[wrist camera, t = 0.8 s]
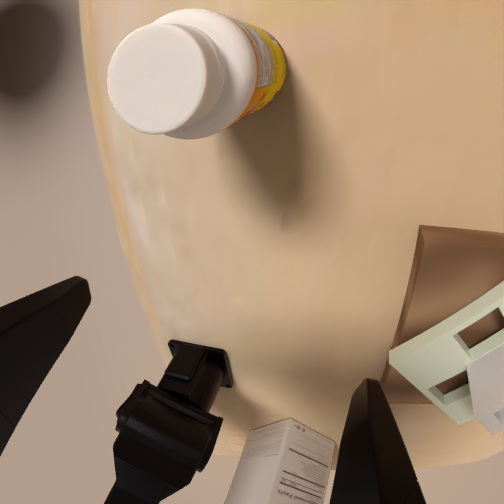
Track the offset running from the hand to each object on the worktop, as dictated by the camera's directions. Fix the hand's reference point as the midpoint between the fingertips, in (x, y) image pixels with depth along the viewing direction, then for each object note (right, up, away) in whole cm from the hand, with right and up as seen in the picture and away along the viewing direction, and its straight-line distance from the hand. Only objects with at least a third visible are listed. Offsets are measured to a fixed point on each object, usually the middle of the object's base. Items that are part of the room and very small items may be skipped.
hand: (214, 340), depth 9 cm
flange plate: (+21, -6, +10) cm, 24 cm away
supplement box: (+7, -23, +30) cm, 39 cm away
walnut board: (+22, -4, +12) cm, 25 cm away
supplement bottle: (+1, +14, +8) cm, 16 cm away
